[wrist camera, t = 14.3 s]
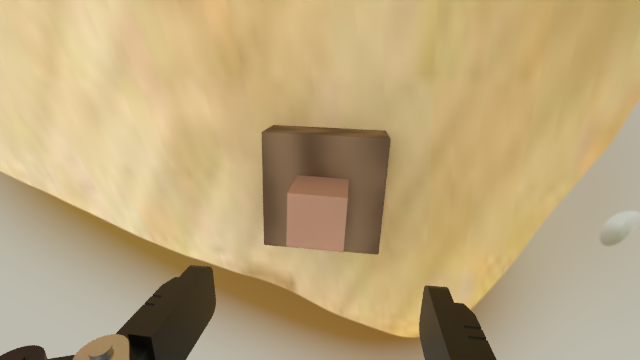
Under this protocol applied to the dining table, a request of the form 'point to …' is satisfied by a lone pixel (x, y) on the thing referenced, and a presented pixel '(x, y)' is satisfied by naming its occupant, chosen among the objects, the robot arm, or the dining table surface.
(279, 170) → the walnut base block
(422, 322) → the robot arm
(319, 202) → the terracotta cube
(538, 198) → the dining table surface
